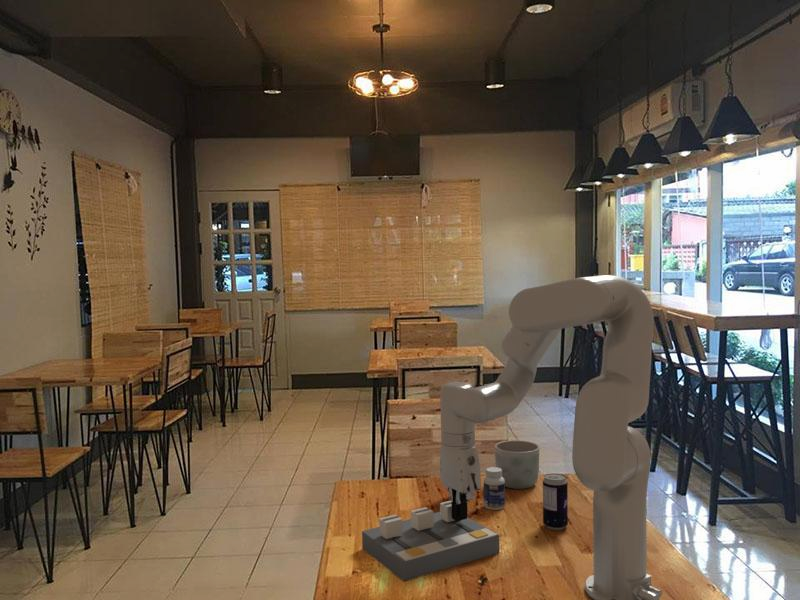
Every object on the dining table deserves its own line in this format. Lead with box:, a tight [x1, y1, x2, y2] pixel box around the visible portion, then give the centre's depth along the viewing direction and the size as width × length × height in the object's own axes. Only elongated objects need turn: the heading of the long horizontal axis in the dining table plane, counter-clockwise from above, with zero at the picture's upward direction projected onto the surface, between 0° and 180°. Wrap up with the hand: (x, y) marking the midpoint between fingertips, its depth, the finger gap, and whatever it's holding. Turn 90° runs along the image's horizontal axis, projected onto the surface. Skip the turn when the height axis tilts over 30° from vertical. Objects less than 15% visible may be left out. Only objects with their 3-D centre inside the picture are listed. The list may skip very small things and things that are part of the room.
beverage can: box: [542, 473, 569, 531], centre depth 159 cm, size 6×6×12 cm
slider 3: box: [439, 500, 455, 522], centre depth 154 cm, size 3×4×4 cm
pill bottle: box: [483, 466, 506, 511], centre depth 172 cm, size 5×5×10 cm
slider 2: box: [410, 506, 434, 531], centre depth 149 cm, size 3×4×4 cm
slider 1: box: [378, 514, 403, 539], centre depth 145 cm, size 3×4×4 cm
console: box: [361, 511, 500, 582], centre depth 147 cm, size 18×24×4 cm
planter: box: [494, 439, 540, 490], centre depth 189 cm, size 12×12×11 cm
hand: (459, 518), depth 151 cm, fingers closed
